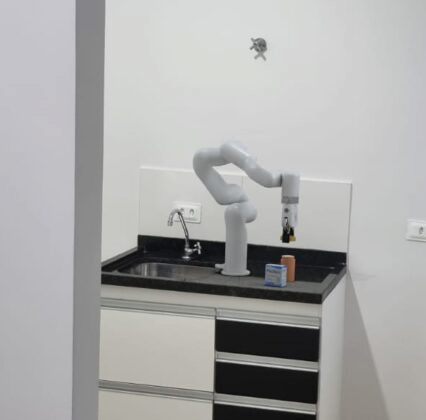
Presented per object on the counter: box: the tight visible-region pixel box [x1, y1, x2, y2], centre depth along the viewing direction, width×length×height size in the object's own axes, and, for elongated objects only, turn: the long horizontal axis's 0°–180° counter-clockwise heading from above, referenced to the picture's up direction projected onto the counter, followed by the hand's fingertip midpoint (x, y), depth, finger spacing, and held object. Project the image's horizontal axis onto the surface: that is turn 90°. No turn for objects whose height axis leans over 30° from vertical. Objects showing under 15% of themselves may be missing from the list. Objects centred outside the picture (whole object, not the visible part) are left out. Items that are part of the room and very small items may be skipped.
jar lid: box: [279, 235, 297, 242], centre depth 370 cm, size 7×7×2 cm
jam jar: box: [280, 254, 296, 283], centre depth 371 cm, size 6×6×10 cm
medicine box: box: [264, 263, 287, 288], centre depth 358 cm, size 8×4×9 cm, turn 66°
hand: (287, 241), depth 370 cm, fingers closed on jar lid, 6 cm apart
